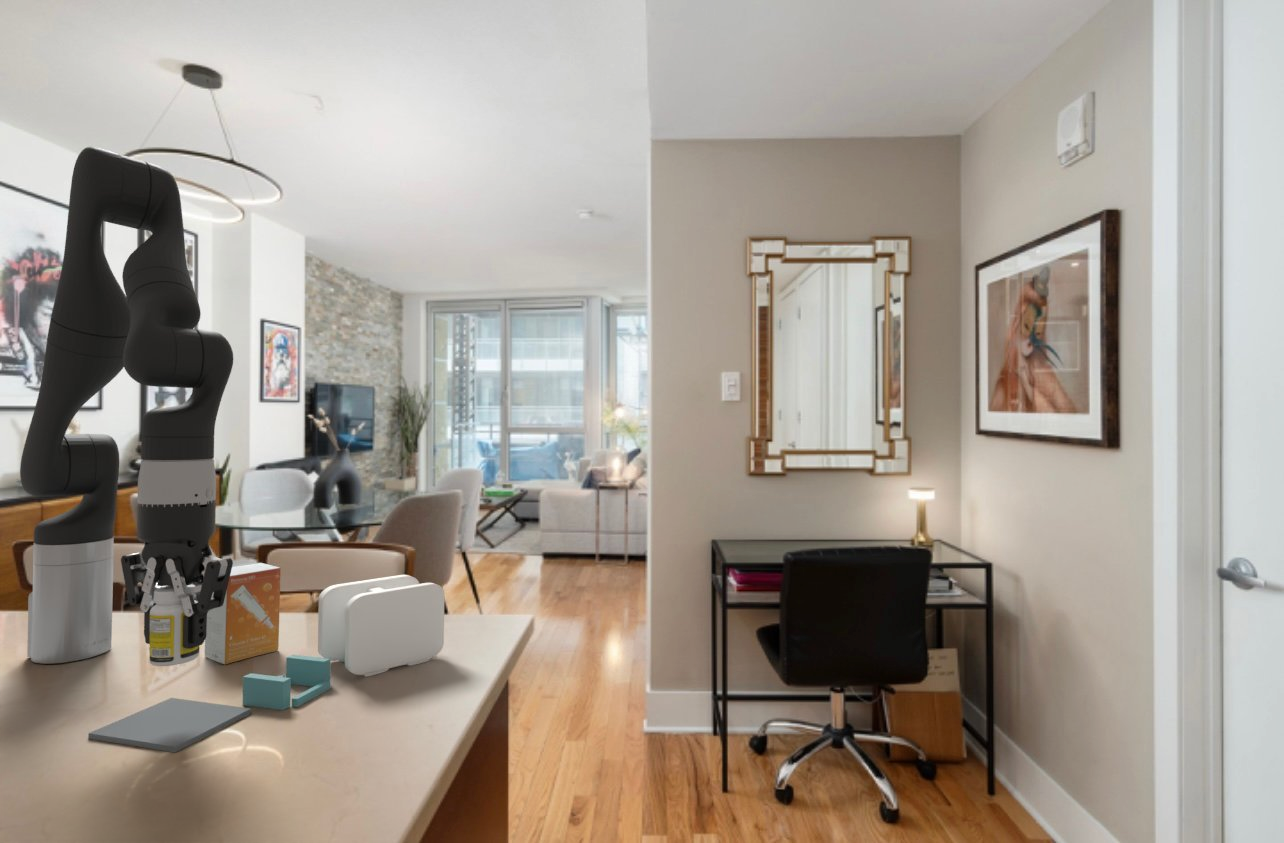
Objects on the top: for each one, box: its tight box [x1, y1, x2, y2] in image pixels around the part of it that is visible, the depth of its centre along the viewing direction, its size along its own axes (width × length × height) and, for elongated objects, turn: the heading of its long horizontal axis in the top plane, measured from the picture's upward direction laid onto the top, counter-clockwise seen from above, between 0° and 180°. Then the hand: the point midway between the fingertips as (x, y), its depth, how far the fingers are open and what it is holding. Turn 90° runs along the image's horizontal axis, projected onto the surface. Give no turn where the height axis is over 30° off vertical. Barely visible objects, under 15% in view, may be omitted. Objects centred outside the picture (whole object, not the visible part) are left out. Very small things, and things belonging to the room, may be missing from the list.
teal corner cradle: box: [242, 654, 331, 711], centre depth 87 cm, size 8×8×4 cm
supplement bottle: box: [149, 584, 200, 667], centre depth 77 cm, size 5×5×8 cm
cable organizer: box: [317, 574, 445, 677], centre depth 99 cm, size 15×11×12 cm
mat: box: [88, 697, 252, 753], centre depth 77 cm, size 12×10×1 cm
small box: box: [204, 562, 281, 665], centre depth 102 cm, size 8×6×13 cm
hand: (175, 643), depth 77 cm, fingers closed on supplement bottle, 4 cm apart
